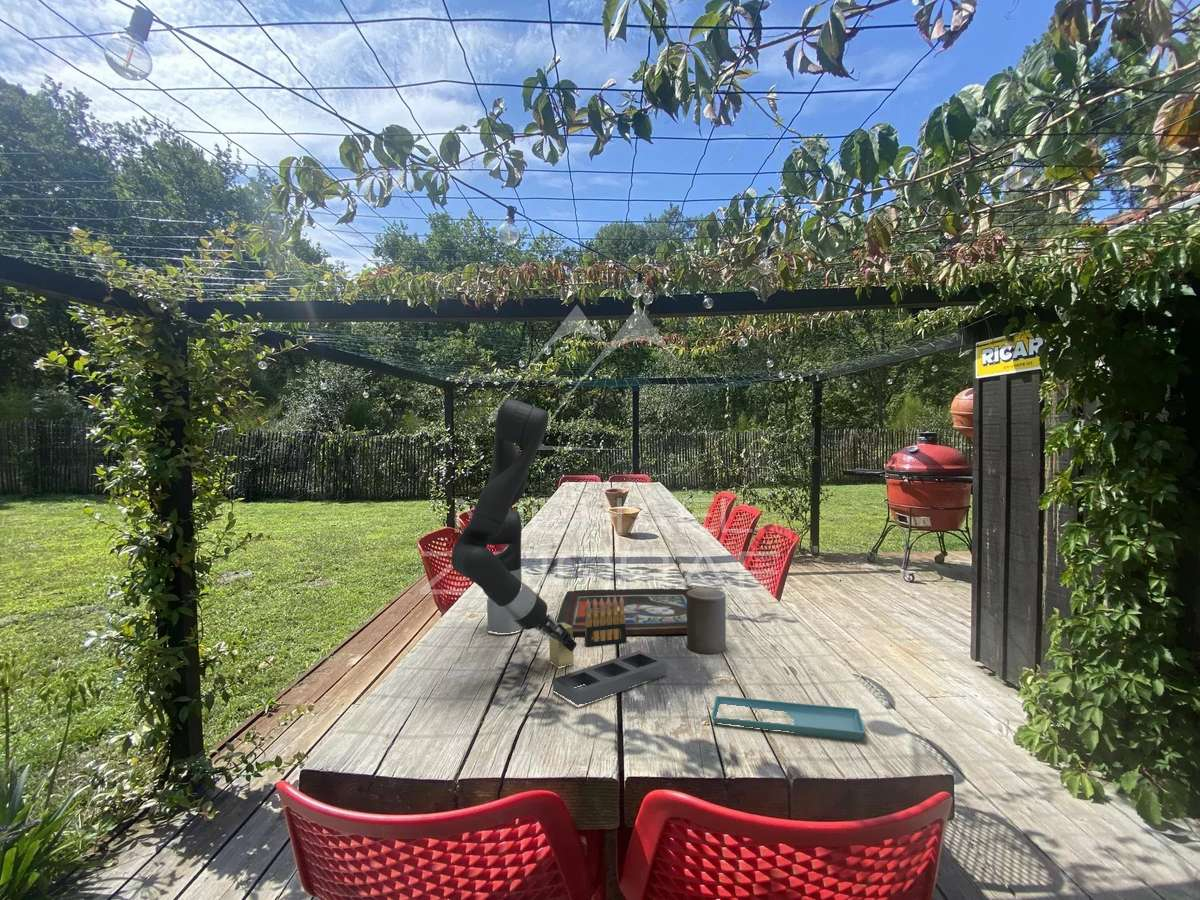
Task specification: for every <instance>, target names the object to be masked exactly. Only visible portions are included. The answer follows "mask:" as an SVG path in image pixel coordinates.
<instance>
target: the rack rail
mask: <svg viewBox="0 0 1200 900" xmlns="http://www.w3.org/2000/svg"><path fill="white" fill-rule="evenodd" d="M639 666H640V667H639ZM641 666H642V667H641ZM636 667H637V668H636ZM613 675H614V676H613ZM665 675H666V676H667V661H664V660H662V659H660V658H658V657H655V656H652V655H650V654H648V653H647V652H646V653H645V652H643V651H641V650H637V651H634V652H631V653H627V654H625V655H621V656H618V657H616V658H613V659H609V660H606V661H603V662H600V663H597V664H594V665H590V666H588V667H584V668H582V669H579V670H575V671H572V672H569V673H567V674H562V675H560V676H557V677H554V678H552V692H553V691H555V692H557V693H558V694H560V695H562V696H564V697H565V698H567V699H569V700H571V701H572V702H574V703H575V704H577V705H579V704H585V703H589V702H592V701H595V700H597V699H600V698H603V697H605V696H608V695H611V694H615V693H618V694H620V693H619V692H621V691H623V690H625V689H628V688H629V687H632V686H634V685H636V684H639V683H642V682H645V681H649V680H653V679H656V680H658V679H661V678H663V677H662V676H664V677H666V676H665ZM607 677H608V678H607ZM660 677H661V678H660ZM657 678H658V679H657ZM653 681H654V680H653ZM583 684H585V685H586V686H583V687H580V688H577V689H576V688H574V687H577V686H580V685H583ZM623 692H624V691H623ZM621 693H622V692H621ZM615 695H616V694H615Z"/></svg>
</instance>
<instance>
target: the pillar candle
mask: <svg viewBox="0 0 1200 900" xmlns="http://www.w3.org/2000/svg"><path fill="white" fill-rule="evenodd" d="M690 589H691V590H689V591H688V592H687V634H686V649H688V650H689V651H691V652H692V653H696V654H701V655H717V654H721V653H723V652H725V651H726V649H725V648H727V646H726V645H727V643H726V636H727V635H726V634H727V633H726V632H727V630H726V629H727V626H726V625H727V622H726V621H727V619H726V609H727V608H726V597H727V593H725V592H724V591H722V590H719V589H715V588H707V587H701V588H699V587H698V588H696V589H692V588H690Z"/></svg>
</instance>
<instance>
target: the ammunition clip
mask: <svg viewBox="0 0 1200 900" xmlns="http://www.w3.org/2000/svg"><path fill="white" fill-rule="evenodd" d="M621 643H622V644H627V643H628V639H627V635H626V624H625V611H624V602H623V598H622V596H621V597H620V602H619V618H618V608H617V600H616V597H614V599H613V611H612V613H611V604H610V599H609V597H608V598H607V602H606V623H605V612H604V602H603V599H602V598H601V600H600V609H599V620H598V610H597V602H596V599H594V601H593V613H592V616H591V609H590V602H589V599H587V602H586V614H585V637H584V646H585V648H593V647H600V646H601V647H602V646H603V647H604V646H609V645H610V646H613V645H621Z"/></svg>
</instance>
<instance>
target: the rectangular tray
mask: <svg viewBox="0 0 1200 900" xmlns="http://www.w3.org/2000/svg"><path fill="white" fill-rule="evenodd" d="M720 704H727V705H736V706H745V707H751V708H757V709H769V710H774V711H784V712H787V713H785V714H787V715H789V716H790V717H791V719H792V718H793V719H794V721H793V723H794V722H795V723H794V725H791V724H781V723H771V722H761V721H751V720H740V719H729V718H717V717H716V715H717V712H718V708H719V705H720ZM712 709H713V710H712V713H711V719H712V720H713V722H714V723H715V722H716V723H722V724H731V725H740V726H744V727H753V728H760V729H768V730H781V731H789V732H794V733H799V734H798V735H800V734H803V735H802V736H809V735H810V737H819V738H828V739H836V740H846V741H856V742H859V741H861V740H862V738H863V737H864V736H865V734H866V732H867V731H866V729H865V726H864V723H863V720H862V717H861V713H860V709H858V708H855V707H854V708H853V707H844V706H832V705H821V704H810V703H809V704H808V703H800V702H799V703H797V702H788V701H787V702H786V701H779V700H778V701H776V700H767V699H756V698H746V697H745V698H744V697H736V696H724V695H716V696H715V698H714V703H713V708H712ZM793 719H792V720H793ZM716 723H715V724H716Z"/></svg>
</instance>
